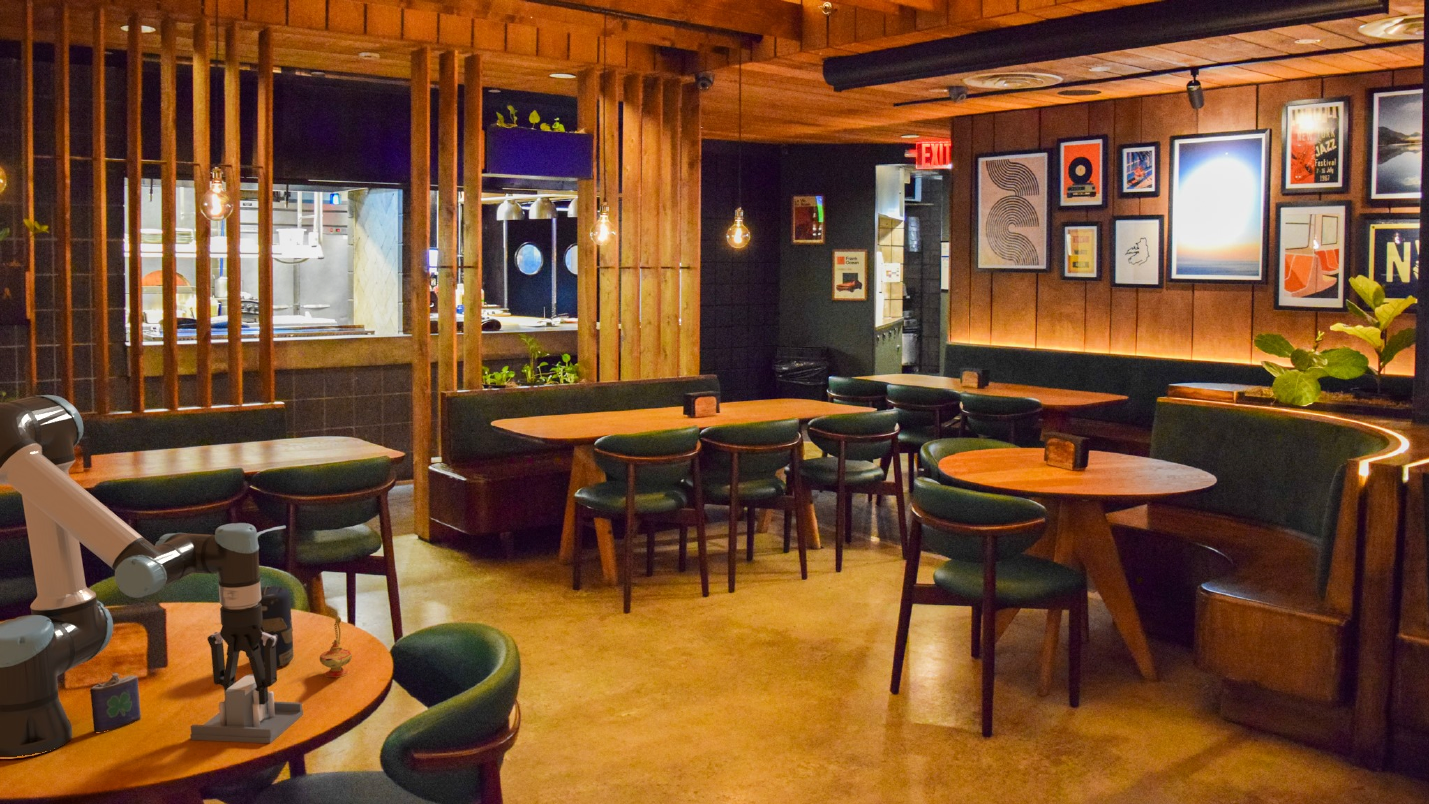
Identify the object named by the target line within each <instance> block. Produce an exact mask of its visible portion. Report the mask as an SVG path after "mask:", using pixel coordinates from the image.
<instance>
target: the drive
mask: <svg viewBox="0 0 1429 804" xmlns="http://www.w3.org/2000/svg"><path fill="white" fill-rule="evenodd" d="M255 688H257V686H256V682H255V679H254V675H253V674H246V675H244V676H243V677H241V678H240V679H239V680H237V681H236V682H235V683H233V685H232V686H230V687H229V688H228V689H227V690H226V691H225V693H224V701H225V702H226V717H227V726H238V727H251V726H252V725H254V723H253V707H252V704H254V696H253V690H254V689H255ZM266 714H267V705H266V703H265V715H266Z"/></svg>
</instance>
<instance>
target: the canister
mask: <svg viewBox="0 0 1429 804" xmlns="http://www.w3.org/2000/svg"><path fill="white" fill-rule="evenodd" d="M290 595H291V594H290V591H289V589H288V588H286V587H283V586H280V585H279V586H278V585H271V586H270V585H266V586H261V600H260V601H259V602H260V603H261V604H262V627H263V629H264V630H265V633H267V634H270V635H272V636H273V635H274V634H276V635H278V641H277V644H276V665H277V668H278V667H281V666H285V665H287V664H289V663H291V661H292V660H293V659H294V641H293V640H294V636H293V631H294V629H293V621H292V620H293V619H292V607H291V606H292V605H291V596H290ZM259 645H260V648H261V651H260V654H261V657H262V661H263V664H264V668H265V662H264V647H265V646H264V645H263V640H262V639H261V641H260V642H259ZM248 661H249V660H248ZM249 663H250V661H249Z"/></svg>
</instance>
